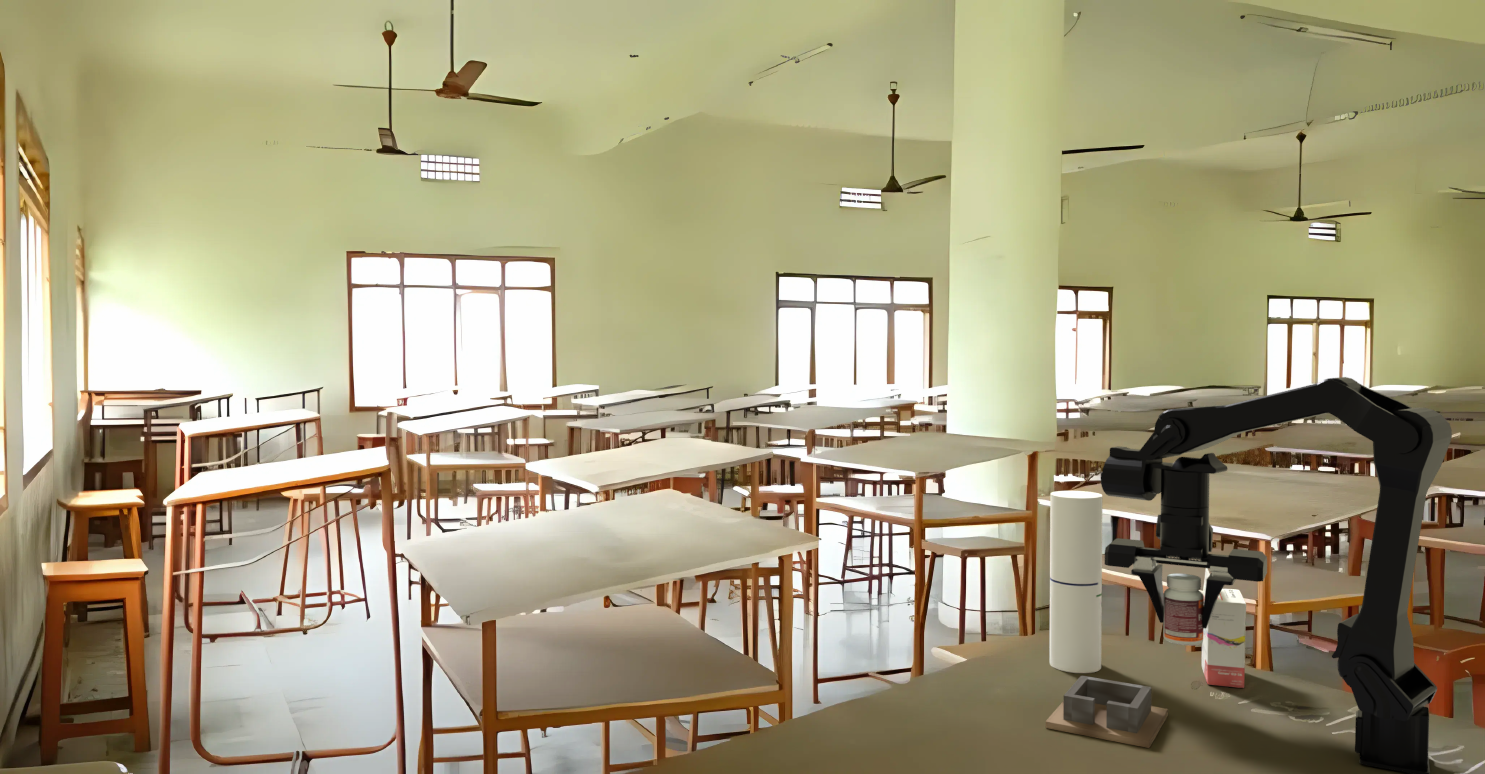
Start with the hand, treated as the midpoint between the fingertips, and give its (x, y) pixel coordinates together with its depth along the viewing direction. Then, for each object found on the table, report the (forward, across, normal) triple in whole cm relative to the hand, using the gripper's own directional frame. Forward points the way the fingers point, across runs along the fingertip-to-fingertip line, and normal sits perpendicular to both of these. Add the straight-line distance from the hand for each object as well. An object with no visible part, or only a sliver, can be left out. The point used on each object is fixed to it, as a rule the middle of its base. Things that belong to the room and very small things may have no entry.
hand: (1183, 624), depth 132 cm
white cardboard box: (+11, -3, -14) cm, 18 cm away
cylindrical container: (+11, +16, -9) cm, 21 cm away
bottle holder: (+10, +7, +11) cm, 17 cm away
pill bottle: (+2, 0, 0) cm, 2 cm away
